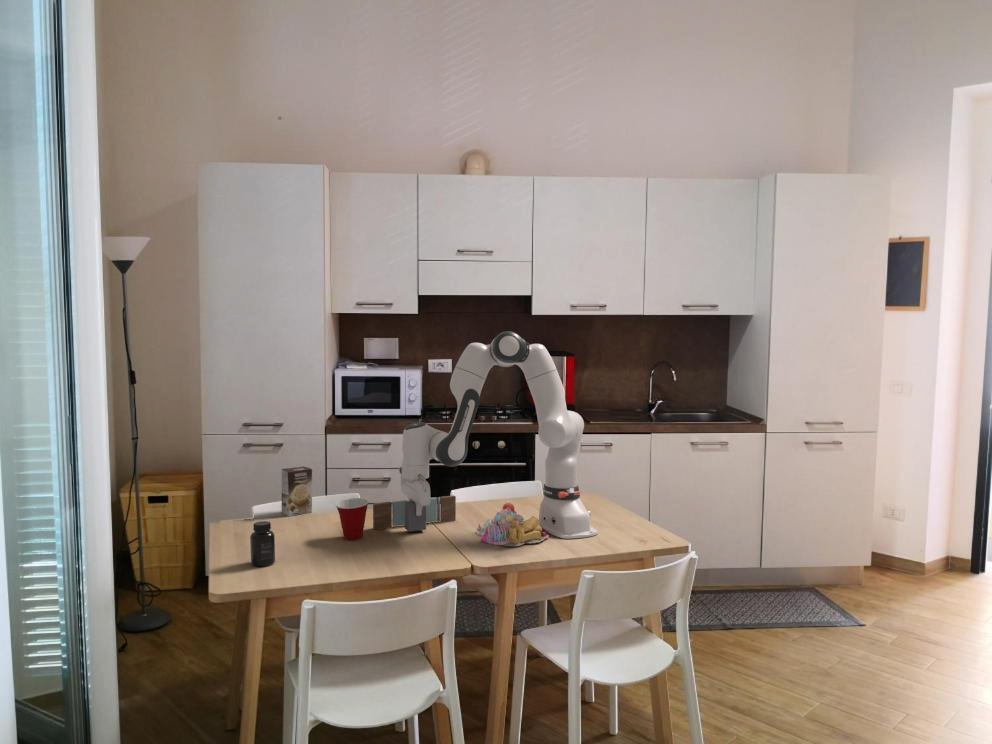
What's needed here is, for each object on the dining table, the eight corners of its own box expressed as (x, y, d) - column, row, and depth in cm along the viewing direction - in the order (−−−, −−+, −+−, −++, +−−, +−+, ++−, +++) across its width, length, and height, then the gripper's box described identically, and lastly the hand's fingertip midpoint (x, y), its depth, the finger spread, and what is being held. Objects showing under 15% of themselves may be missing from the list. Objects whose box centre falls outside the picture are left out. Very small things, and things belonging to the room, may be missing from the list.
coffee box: (289, 516, 283) (288, 472, 282) (281, 513, 288) (280, 468, 287) (312, 512, 289) (312, 468, 288) (304, 508, 294) (304, 465, 292)
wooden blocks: (455, 520, 280) (455, 496, 280) (374, 529, 269) (374, 504, 268) (453, 519, 282) (454, 495, 281) (373, 528, 270) (373, 503, 269)
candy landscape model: (562, 537, 263) (563, 510, 262) (513, 553, 246) (513, 524, 245) (507, 522, 280) (507, 496, 280) (457, 536, 264) (458, 508, 263)
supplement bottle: (277, 559, 237) (277, 519, 236) (272, 567, 230) (271, 526, 229) (254, 559, 237) (253, 519, 236) (247, 567, 230) (247, 526, 229)
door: (440, 520, 278) (440, 497, 278) (393, 526, 272) (393, 502, 271) (439, 520, 279) (439, 497, 279) (392, 525, 272) (392, 501, 272)
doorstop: (426, 529, 266) (426, 502, 265) (408, 531, 264) (408, 504, 263) (422, 526, 270) (422, 500, 269) (404, 528, 267) (405, 501, 266)
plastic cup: (332, 534, 262) (331, 498, 261) (365, 531, 266) (364, 495, 265) (338, 544, 252) (338, 506, 251) (372, 540, 256) (372, 503, 255)
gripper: (435, 477, 257) (435, 520, 258) (415, 465, 275) (415, 504, 277) (416, 479, 254) (416, 522, 256) (397, 466, 273) (397, 506, 274)
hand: (415, 513), depth 266 cm, fingers closed on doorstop, 4 cm apart
